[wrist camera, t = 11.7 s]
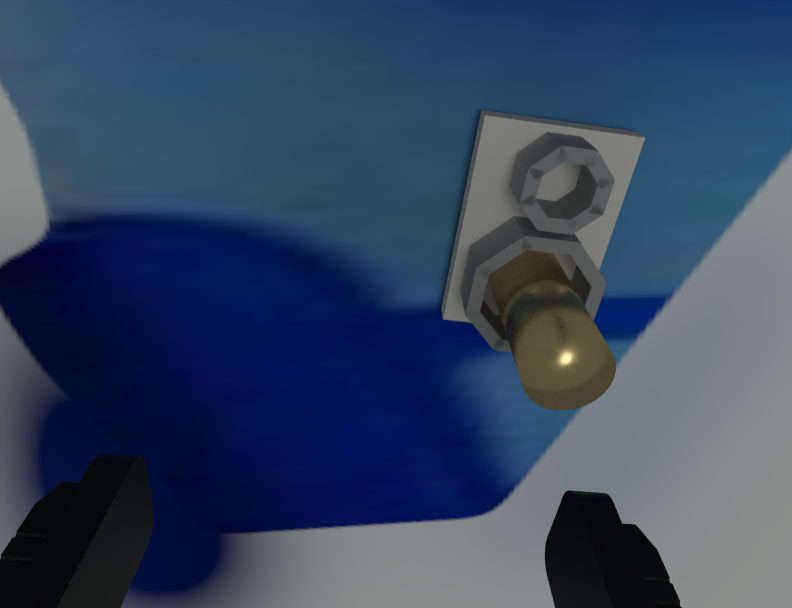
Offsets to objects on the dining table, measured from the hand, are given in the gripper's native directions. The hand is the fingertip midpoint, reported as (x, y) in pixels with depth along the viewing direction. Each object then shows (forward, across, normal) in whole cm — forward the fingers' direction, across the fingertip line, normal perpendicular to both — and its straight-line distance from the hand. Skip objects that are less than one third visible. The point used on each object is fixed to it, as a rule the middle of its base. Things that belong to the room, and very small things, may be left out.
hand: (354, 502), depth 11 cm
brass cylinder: (+24, -10, +7) cm, 27 cm away
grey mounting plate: (+25, -10, +4) cm, 27 cm away
